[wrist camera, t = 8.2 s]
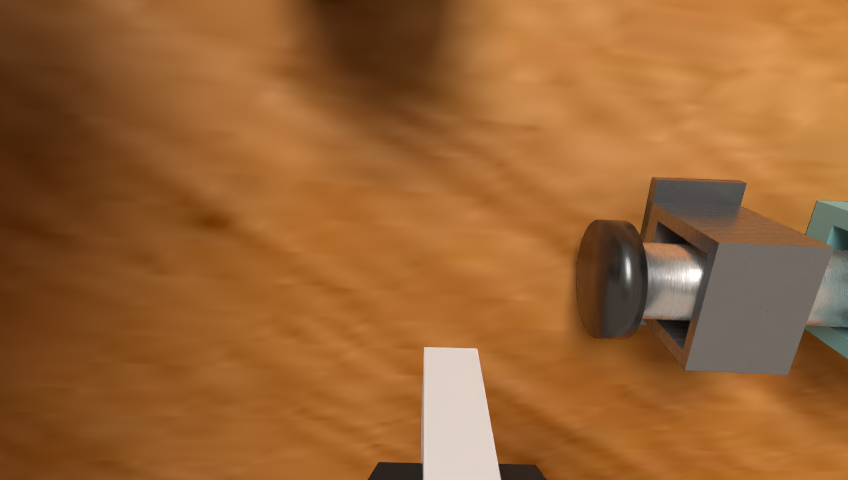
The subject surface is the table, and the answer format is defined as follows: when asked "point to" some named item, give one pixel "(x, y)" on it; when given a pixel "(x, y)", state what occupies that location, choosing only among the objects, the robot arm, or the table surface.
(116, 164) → the table surface
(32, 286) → the table surface
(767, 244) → the guide
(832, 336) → the socket
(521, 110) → the table surface
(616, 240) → the plunger
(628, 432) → the table surface
